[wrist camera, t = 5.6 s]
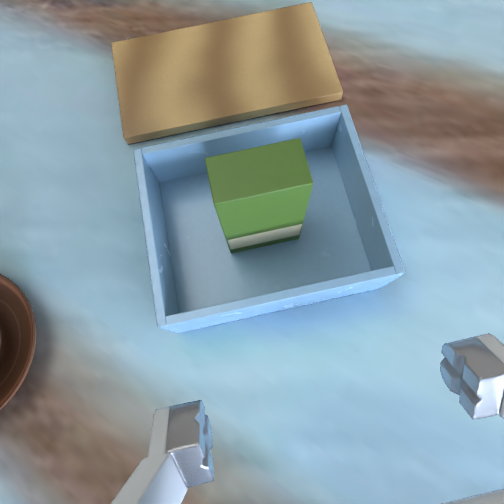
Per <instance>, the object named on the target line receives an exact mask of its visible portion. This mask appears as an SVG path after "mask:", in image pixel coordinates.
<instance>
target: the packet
mask: <svg viewBox="0 0 504 504" xmlns="http://www.w3.org/2000/svg"><path fill="white" fill-rule="evenodd" d="M205 164H206V169H207V174H208V179H209V184H210V189H211V194H212V199H213V204H214V207H215V210H216V213H217V215H218V218H219V221H220V224H221V227H222V230H223V233H224V236H225V238H226V241H227V244H228V247H229V250H230V253H236V252H241V251H245V250H250V249H254V248H259V247H263V246H268V245H273V244H277V243H282V242H286V241H291V240H296V239H299V237H300V233H301V229H302V226H303V222H304V218H305V214H306V210H307V206H308V202H309V199H310V195H311V191H312V187H313V179H312V176H311V172H310V169H309V166H308V162H307V159H306V155H305V152H304V149H303V145H302V142H301V139H300V138H296V139H292V140H287V141H282V142H278V143H273V144H268V145H263V146H259V147H254V148H249V149H245V150H240V151H235V152H230V153H226V154H221V155H216V156H212V157H207V158H205Z"/></svg>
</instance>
